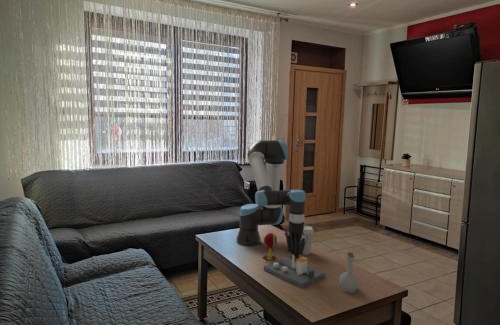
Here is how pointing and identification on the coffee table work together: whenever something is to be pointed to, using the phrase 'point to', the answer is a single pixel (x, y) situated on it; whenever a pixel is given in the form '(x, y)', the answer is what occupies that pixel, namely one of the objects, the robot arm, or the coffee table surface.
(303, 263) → the block
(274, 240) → the figurine
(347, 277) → the potion bottle
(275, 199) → the robot arm
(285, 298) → the coffee table surface
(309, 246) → the coffee cup
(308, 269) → the console
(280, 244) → the coffee table surface
